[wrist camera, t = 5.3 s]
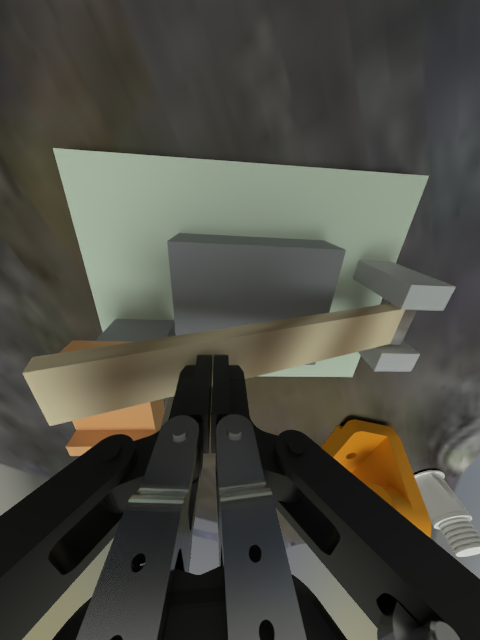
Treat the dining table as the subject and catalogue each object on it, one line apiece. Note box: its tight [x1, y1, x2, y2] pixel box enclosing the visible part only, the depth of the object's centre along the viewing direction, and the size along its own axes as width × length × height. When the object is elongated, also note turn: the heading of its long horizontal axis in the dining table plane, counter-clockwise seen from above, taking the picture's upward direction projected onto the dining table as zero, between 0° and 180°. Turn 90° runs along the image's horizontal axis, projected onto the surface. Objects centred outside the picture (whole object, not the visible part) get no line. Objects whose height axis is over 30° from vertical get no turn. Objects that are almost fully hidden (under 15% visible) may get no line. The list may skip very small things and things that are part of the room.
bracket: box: [321, 419, 431, 538], centre depth 30 cm, size 11×7×12 cm, turn 161°
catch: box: [60, 341, 165, 456], centre depth 16 cm, size 6×7×4 cm
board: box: [53, 148, 456, 408], centre depth 19 cm, size 27×20×8 cm
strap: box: [22, 303, 417, 426], centre depth 14 cm, size 23×3×2 cm, turn 86°
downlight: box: [414, 470, 480, 557], centre depth 38 cm, size 8×7×10 cm
